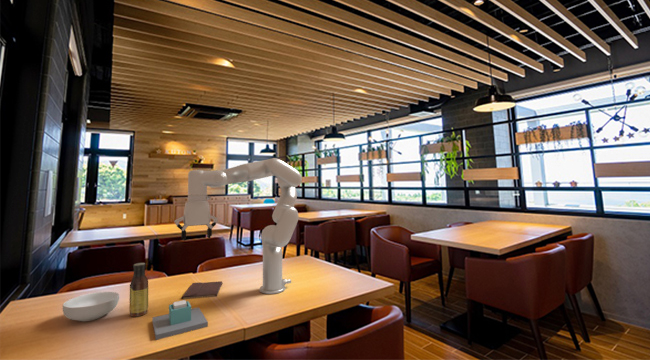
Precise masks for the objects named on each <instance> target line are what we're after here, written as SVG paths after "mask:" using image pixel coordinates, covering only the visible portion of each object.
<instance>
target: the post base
mask: <svg viewBox="0 0 650 360" xmlns="http://www.w3.org/2000/svg"><path fill="white" fill-rule="evenodd" d="M172 304H173V310H175V309H179V308H184V307H187V303H186V299H182V300H179V301H174V302H173V303H172ZM151 322H152V328H153V333H154V338H155V341H158V340H162V339H165V338H169V337H172V336H177V335H180V334H185V333H188V331H189V332H192V331H195V330H200V329H204V328H207V327H209V326H208V325H209V322H208V320H207V318H206V316H205V315H204V313H203V312H202V310H201V309H200V306H199V307H194V308H191V321H187V322H183V323H179V324H174V325H171V324H170V321H169V313H167V314H162V315H159V316H153V317H152V321H151ZM191 330H192V331H191ZM184 332H185V333H184Z"/></svg>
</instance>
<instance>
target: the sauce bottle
mask: <svg viewBox="0 0 650 360" xmlns="http://www.w3.org/2000/svg"><path fill="white" fill-rule="evenodd" d="M132 268H133V276H132V279H131V282H130V283H129V310H128V311H129V316H130V317H133V318H134V317H142V316H143V315H146V314H147V313H148V312H149V278H148V277H147V276H146V263H145V262H137V263H134V264H133V267H132Z"/></svg>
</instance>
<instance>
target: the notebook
mask: <svg viewBox="0 0 650 360" xmlns="http://www.w3.org/2000/svg"><path fill="white" fill-rule="evenodd" d="M222 285H223V281H222V280H221V281H205V282H192V283H191V285H190V286H189V287H188V288H187V290H185V292H184V294H183V295H182V296H181V300H189V299H191V300H192V299H200V298H201V299H202V298H214V297H218V294H219V293H220V290H221V287H222Z"/></svg>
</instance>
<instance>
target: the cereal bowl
mask: <svg viewBox="0 0 650 360" xmlns="http://www.w3.org/2000/svg"><path fill="white" fill-rule="evenodd" d="M119 300H120V294H119V293H118V292H116V291H98V292H96V291H95V292H91V293H85V294H81V295H78V296H75V297H73V298H72V297H71V298H70V299H67V300H66V301H65V302H64V303H62V312H63V315H64V316H65V317H66V318H67V319H69V320H73V321H79V322H91V321H94V320H98V319H100V318H102V317H103V316H105V315H106V314H109V313H111V311H113V310H114V309H115V308H116V307H117V305H118V304H119Z"/></svg>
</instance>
